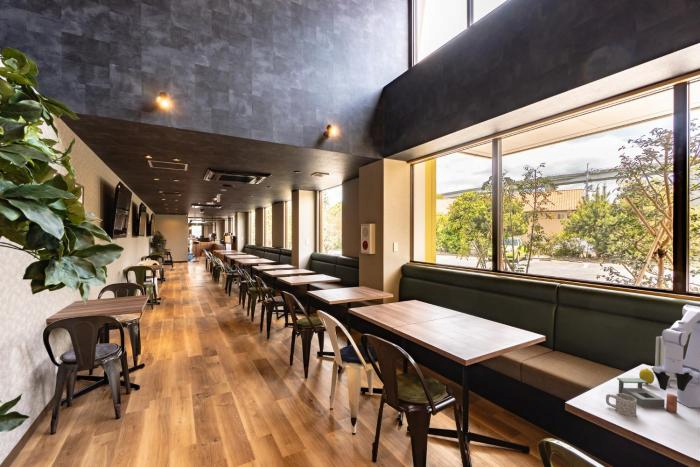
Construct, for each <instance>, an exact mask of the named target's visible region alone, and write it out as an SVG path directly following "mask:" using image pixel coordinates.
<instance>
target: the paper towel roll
mask: <svg viewBox="0 0 700 467" xmlns="http://www.w3.org/2000/svg"><path fill="white" fill-rule="evenodd" d="M654 355H655V358H654V359H655V360H654V366H655V367H658V366H664V345H663V340H662V335H660V336H656V337H655V354H654ZM665 374H666V375H668V376H670V381H676V378H674V376H673V374H672V373H665Z"/></svg>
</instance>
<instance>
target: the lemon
mask: <svg viewBox="0 0 700 467" xmlns="http://www.w3.org/2000/svg"><path fill="white" fill-rule="evenodd" d="M638 376H639V378H640V379H642V380H644V381H646V382H647V383H644V384H645V385H649V384H653V383H654V381H655V374H654V373H653V371H652V370H650V369H648V368H642V369H641V370H640V371H639V373H638Z"/></svg>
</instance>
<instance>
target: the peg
mask: <svg viewBox="0 0 700 467" xmlns="http://www.w3.org/2000/svg"><path fill="white" fill-rule="evenodd" d="M665 411H666V412H668V413H669V414H674V415H676V414H677V413H678V401H677V394H673V393H666V406H665Z"/></svg>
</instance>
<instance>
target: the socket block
mask: <svg viewBox="0 0 700 467" xmlns="http://www.w3.org/2000/svg"><path fill="white" fill-rule="evenodd" d="M616 380H617V381H618V393H623V394H627V395H630V396H632V397H634V398H636V399H637V406H638V407H641V408H664V409H665V399H664V398H662V396H659V395H656V394H655V393H653V392H651V391H649V390H648V389H646V388H644V387H643V385H644V384H645V383H647V382H646V381H644V380H642V379H640V377H639V378H638V377H616ZM625 384H637V387H624V386H625Z"/></svg>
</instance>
